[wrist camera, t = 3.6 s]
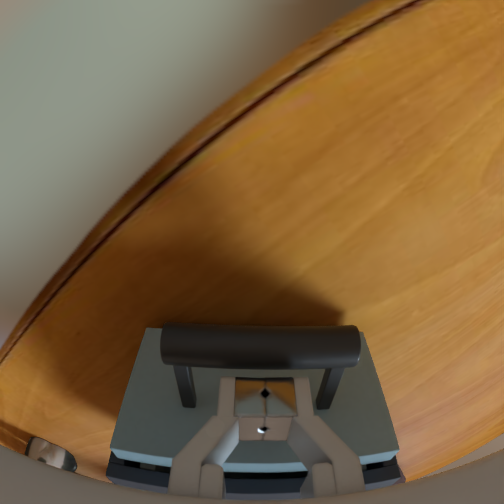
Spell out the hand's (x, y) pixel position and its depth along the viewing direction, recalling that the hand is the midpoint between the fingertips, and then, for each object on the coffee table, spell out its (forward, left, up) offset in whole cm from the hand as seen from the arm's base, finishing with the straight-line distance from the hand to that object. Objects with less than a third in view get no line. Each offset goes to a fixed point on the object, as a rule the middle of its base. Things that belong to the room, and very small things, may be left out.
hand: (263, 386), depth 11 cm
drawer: (+8, 0, -6) cm, 10 cm away
